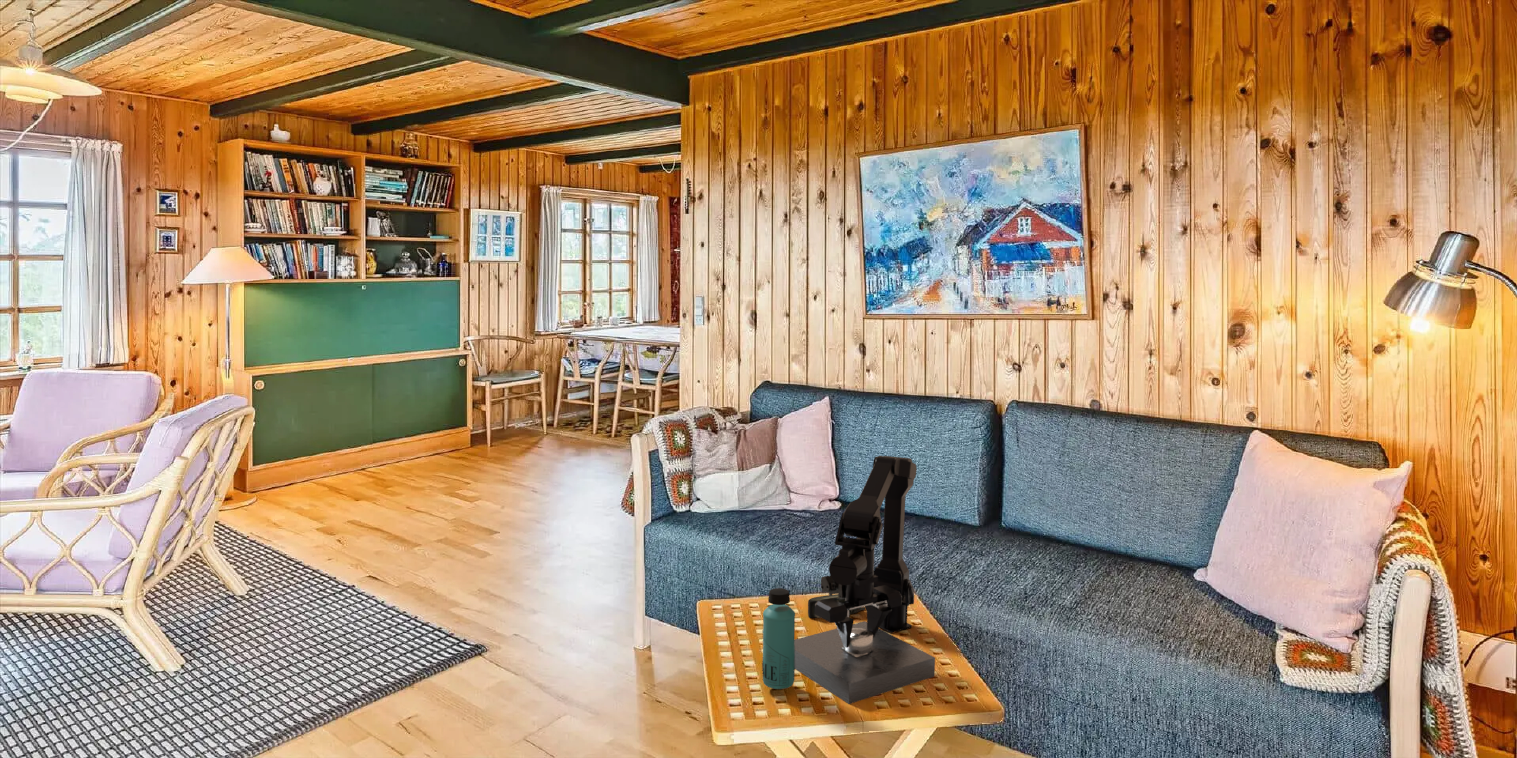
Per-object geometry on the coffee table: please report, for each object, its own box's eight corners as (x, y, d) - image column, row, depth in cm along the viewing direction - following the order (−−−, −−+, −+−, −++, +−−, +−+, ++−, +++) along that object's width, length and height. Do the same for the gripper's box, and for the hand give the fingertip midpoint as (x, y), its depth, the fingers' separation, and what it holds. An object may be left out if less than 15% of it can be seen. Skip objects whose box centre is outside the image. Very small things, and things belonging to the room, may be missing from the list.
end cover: (859, 658, 185) (860, 625, 184) (878, 669, 180) (879, 635, 179) (836, 664, 181) (837, 631, 180) (855, 676, 176) (856, 641, 175)
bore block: (864, 638, 196) (864, 621, 195) (934, 676, 177) (935, 657, 177) (782, 660, 184) (783, 642, 183) (849, 704, 165) (849, 684, 165)
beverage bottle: (799, 684, 173) (800, 586, 171) (789, 699, 167) (790, 598, 165) (767, 679, 175) (768, 582, 173) (756, 694, 169) (757, 593, 167)
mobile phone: (810, 601, 205) (868, 593, 210) (805, 596, 208) (863, 588, 213) (810, 621, 206) (868, 612, 211) (806, 617, 209) (863, 608, 214)
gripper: (869, 551, 190) (867, 621, 192) (799, 566, 180) (797, 639, 182) (904, 566, 180) (902, 639, 182) (832, 582, 170) (830, 659, 172)
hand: (857, 643), depth 180 cm, fingers closed on end cover, 6 cm apart
